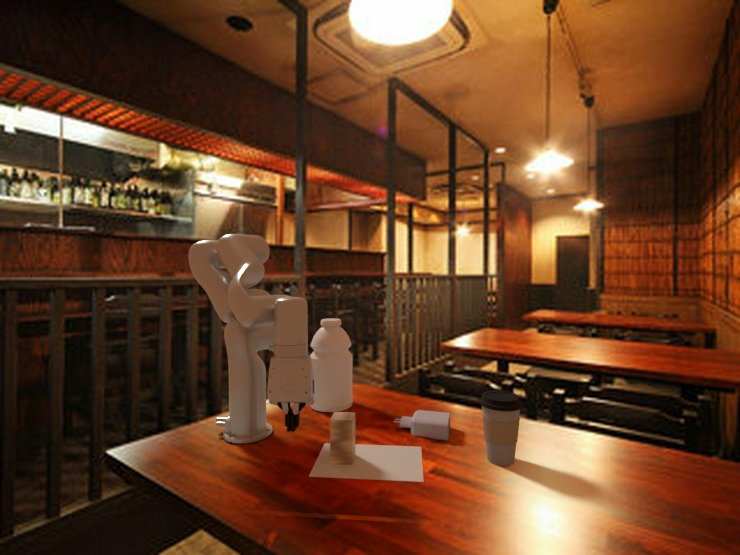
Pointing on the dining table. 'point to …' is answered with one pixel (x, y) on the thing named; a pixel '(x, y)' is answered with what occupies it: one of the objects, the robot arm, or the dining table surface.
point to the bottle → (332, 367)
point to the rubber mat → (374, 464)
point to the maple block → (342, 438)
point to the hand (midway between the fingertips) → (292, 429)
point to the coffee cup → (500, 425)
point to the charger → (427, 424)
